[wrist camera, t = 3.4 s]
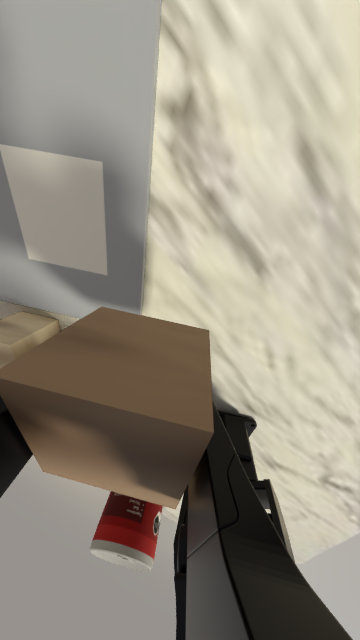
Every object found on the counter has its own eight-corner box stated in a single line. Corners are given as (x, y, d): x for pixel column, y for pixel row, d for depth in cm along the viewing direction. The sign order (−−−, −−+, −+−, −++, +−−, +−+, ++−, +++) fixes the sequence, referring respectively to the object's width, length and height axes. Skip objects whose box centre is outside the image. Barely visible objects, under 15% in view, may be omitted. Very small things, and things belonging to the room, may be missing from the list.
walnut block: (187, 401, 11) (175, 509, 7) (106, 381, 11) (42, 471, 7) (209, 330, 8) (213, 432, 4) (101, 306, 9) (-11, 375, 4)
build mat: (140, 329, 17) (139, 331, 16) (3, 298, 17) (-3, 299, 17) (163, -24, 7) (160, -43, 7) (-132, -57, 8) (-151, -75, 8)
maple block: (65, 350, 20) (25, 381, 15) (32, 342, 20) (-17, 370, 16) (58, 319, 18) (9, 345, 13) (22, 311, 18) (-38, 333, 14)
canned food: (153, 465, 30) (128, 570, 21) (120, 444, 29) (77, 549, 19) (180, 455, 27) (166, 573, 18) (145, 432, 26) (108, 549, 16)
